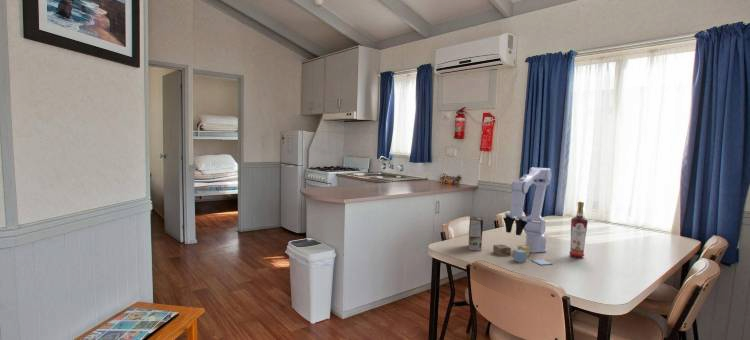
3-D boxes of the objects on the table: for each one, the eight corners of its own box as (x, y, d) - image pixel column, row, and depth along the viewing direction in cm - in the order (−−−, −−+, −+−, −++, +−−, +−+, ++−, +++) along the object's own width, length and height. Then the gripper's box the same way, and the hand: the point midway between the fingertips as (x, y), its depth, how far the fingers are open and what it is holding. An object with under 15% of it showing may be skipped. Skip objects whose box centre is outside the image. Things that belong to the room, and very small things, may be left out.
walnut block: (503, 251, 193) (503, 244, 193) (510, 255, 187) (510, 247, 187) (493, 252, 192) (493, 244, 191) (499, 256, 186) (500, 248, 186)
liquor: (569, 257, 186) (573, 202, 184) (567, 253, 193) (571, 200, 191) (585, 259, 184) (590, 203, 181) (583, 255, 190) (587, 201, 188)
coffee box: (481, 251, 193) (483, 220, 191) (468, 250, 194) (470, 219, 193) (480, 246, 202) (481, 217, 200) (468, 245, 203) (469, 216, 201)
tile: (542, 259, 181) (542, 259, 181) (552, 264, 175) (552, 263, 175) (530, 260, 179) (530, 259, 179) (540, 265, 173) (540, 264, 173)
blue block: (520, 259, 181) (521, 249, 181) (526, 262, 177) (526, 252, 177) (513, 260, 180) (514, 250, 179) (519, 262, 176) (519, 252, 176)
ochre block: (522, 254, 190) (523, 244, 189) (529, 256, 186) (529, 246, 186) (517, 255, 188) (517, 245, 187) (523, 257, 184) (524, 247, 184)
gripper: (500, 203, 184) (497, 230, 184) (519, 206, 170) (515, 235, 170) (513, 205, 186) (509, 231, 186) (532, 208, 172) (528, 237, 172)
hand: (513, 233), depth 178 cm, fingers open, 7 cm apart
